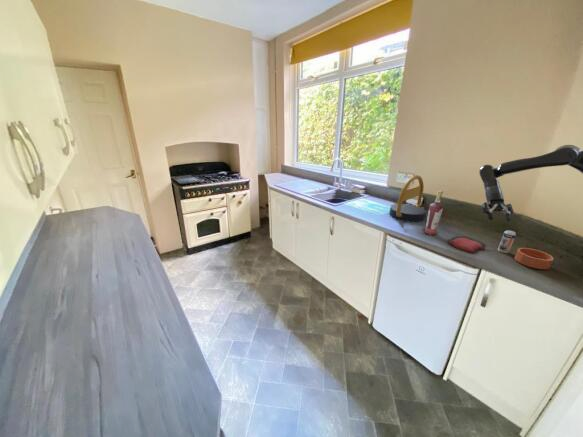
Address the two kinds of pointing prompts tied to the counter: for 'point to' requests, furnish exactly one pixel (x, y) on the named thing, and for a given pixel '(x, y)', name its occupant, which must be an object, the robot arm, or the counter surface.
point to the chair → (409, 211)
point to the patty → (466, 245)
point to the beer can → (506, 241)
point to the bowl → (533, 258)
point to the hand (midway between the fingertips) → (500, 220)
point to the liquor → (434, 215)
